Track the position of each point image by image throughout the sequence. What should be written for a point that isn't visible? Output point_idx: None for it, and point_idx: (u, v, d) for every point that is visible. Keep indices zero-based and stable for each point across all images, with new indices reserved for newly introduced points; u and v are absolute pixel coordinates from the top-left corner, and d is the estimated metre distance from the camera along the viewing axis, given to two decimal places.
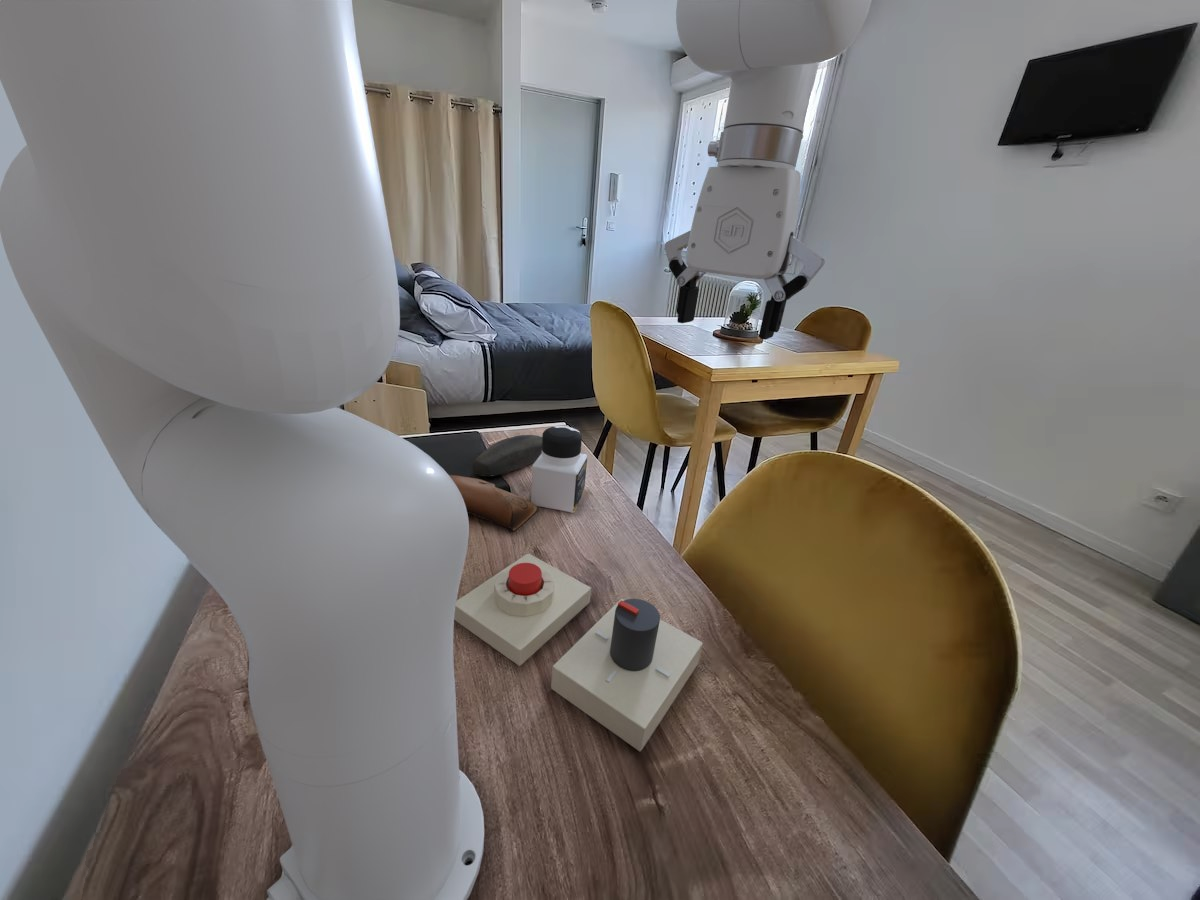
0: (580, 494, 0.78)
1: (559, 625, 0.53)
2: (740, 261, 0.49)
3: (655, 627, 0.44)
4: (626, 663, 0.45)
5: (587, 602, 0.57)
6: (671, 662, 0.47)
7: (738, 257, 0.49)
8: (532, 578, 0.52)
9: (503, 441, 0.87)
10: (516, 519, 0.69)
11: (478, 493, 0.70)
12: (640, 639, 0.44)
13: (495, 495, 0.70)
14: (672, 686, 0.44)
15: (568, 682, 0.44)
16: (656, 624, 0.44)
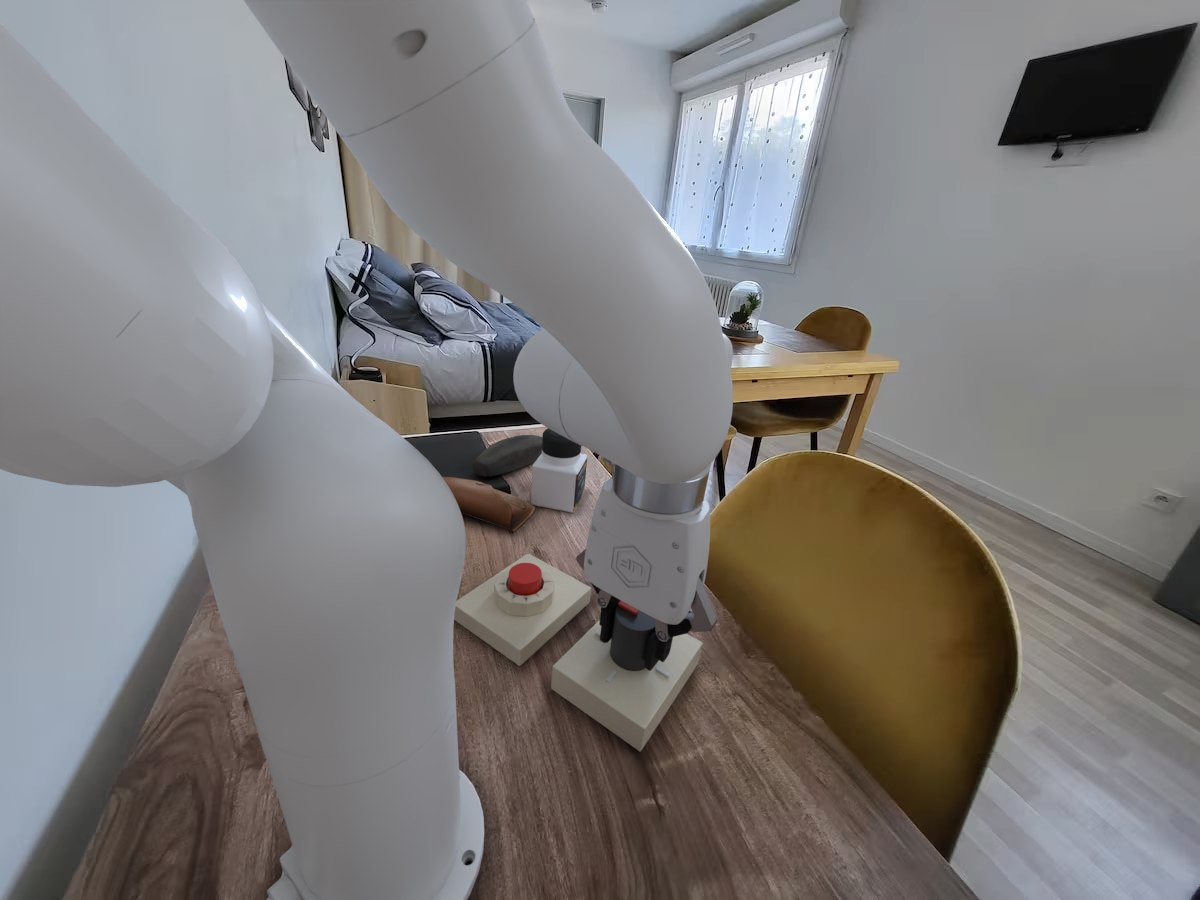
0: (580, 494, 0.78)
1: (559, 625, 0.53)
2: (641, 600, 0.40)
3: None
4: (626, 663, 0.45)
5: (587, 602, 0.57)
6: (671, 662, 0.47)
7: (638, 595, 0.40)
8: (532, 578, 0.52)
9: (503, 441, 0.87)
10: (515, 520, 0.69)
11: (476, 494, 0.70)
12: (640, 639, 0.44)
13: (494, 496, 0.69)
14: (672, 686, 0.44)
15: (568, 682, 0.44)
16: None
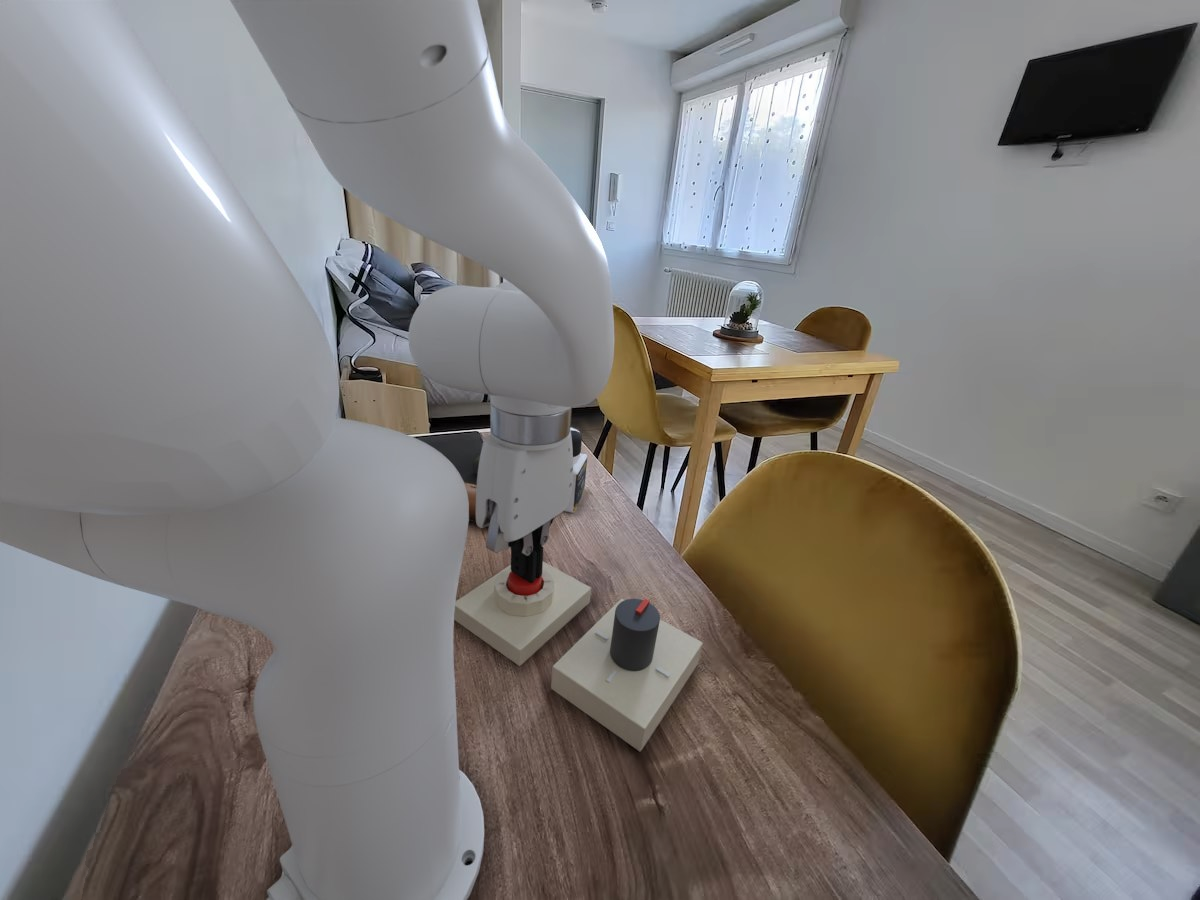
0: (580, 494, 0.78)
1: (559, 625, 0.53)
2: None
3: (625, 628, 0.44)
4: None
5: (587, 602, 0.57)
6: (671, 662, 0.47)
7: None
8: None
9: None
10: None
11: (473, 497, 0.69)
12: (614, 624, 0.45)
13: None
14: (672, 686, 0.44)
15: (568, 682, 0.44)
16: (627, 627, 0.43)
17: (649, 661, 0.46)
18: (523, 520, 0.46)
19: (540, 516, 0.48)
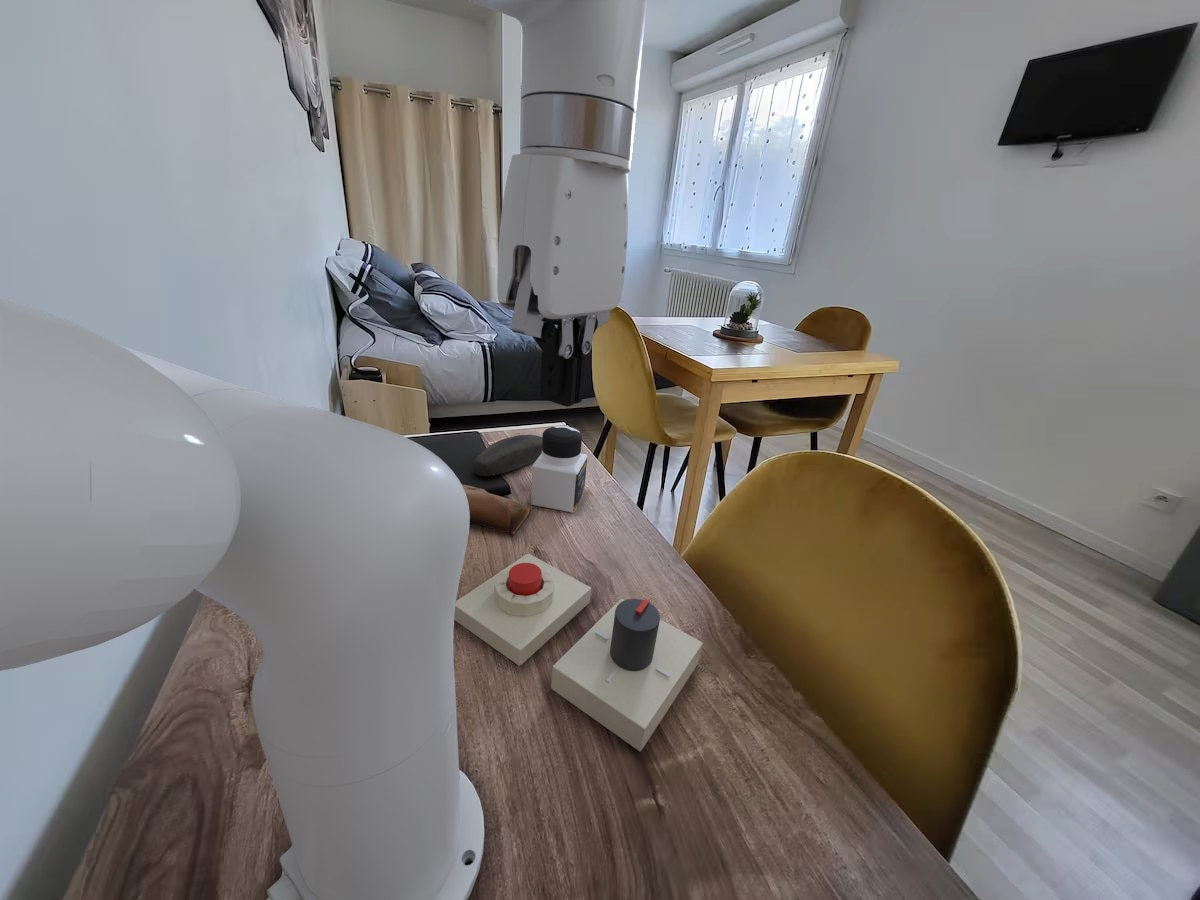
0: (580, 494, 0.78)
1: (559, 625, 0.53)
2: None
3: (625, 628, 0.44)
4: None
5: (587, 602, 0.57)
6: (671, 662, 0.47)
7: None
8: (532, 578, 0.52)
9: (502, 441, 0.87)
10: (514, 522, 0.68)
11: (472, 499, 0.69)
12: (614, 624, 0.45)
13: (490, 500, 0.68)
14: (672, 686, 0.44)
15: (568, 682, 0.44)
16: (627, 627, 0.43)
17: (649, 661, 0.46)
18: (565, 284, 0.33)
19: (586, 293, 0.35)
